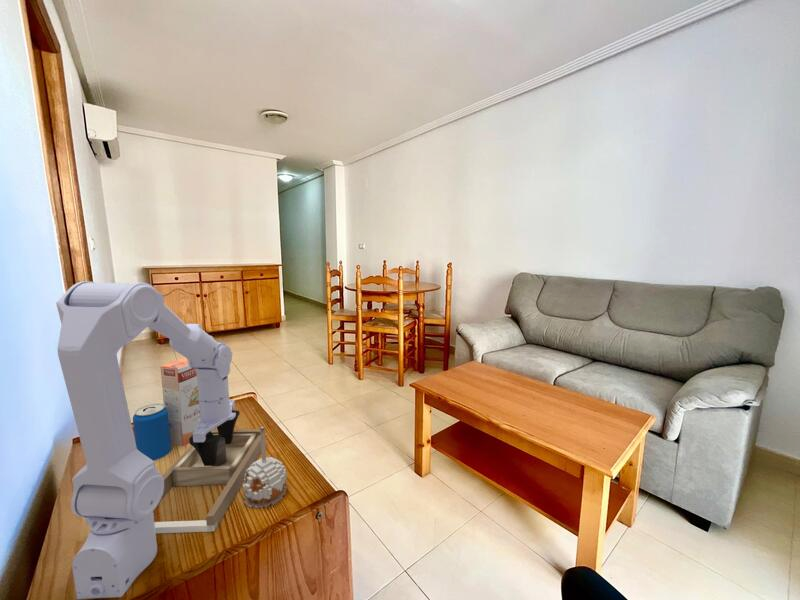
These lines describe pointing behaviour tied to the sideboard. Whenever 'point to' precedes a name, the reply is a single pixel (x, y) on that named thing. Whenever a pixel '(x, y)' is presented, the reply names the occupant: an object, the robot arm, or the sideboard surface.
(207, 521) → the bay
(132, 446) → the robot arm
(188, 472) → the beige shallow open box
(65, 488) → the sideboard surface
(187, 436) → the cracker box
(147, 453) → the beverage can
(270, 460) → the decorative ornament
